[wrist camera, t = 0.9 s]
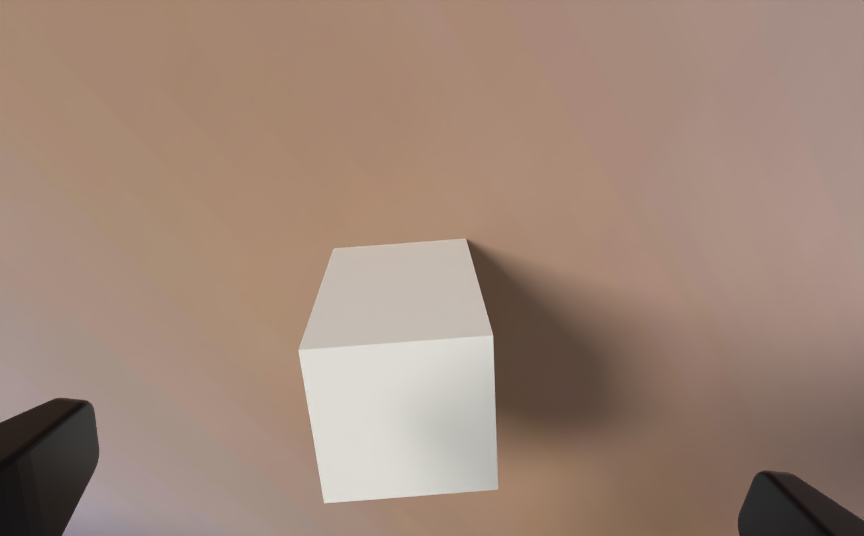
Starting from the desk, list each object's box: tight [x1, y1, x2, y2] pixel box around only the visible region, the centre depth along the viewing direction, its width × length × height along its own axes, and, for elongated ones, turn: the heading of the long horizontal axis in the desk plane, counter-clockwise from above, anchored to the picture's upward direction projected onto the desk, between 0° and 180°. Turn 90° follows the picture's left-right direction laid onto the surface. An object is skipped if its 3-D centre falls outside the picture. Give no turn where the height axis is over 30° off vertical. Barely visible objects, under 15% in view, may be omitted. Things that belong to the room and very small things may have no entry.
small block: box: [299, 239, 498, 503], centre depth 18 cm, size 4×4×7 cm
